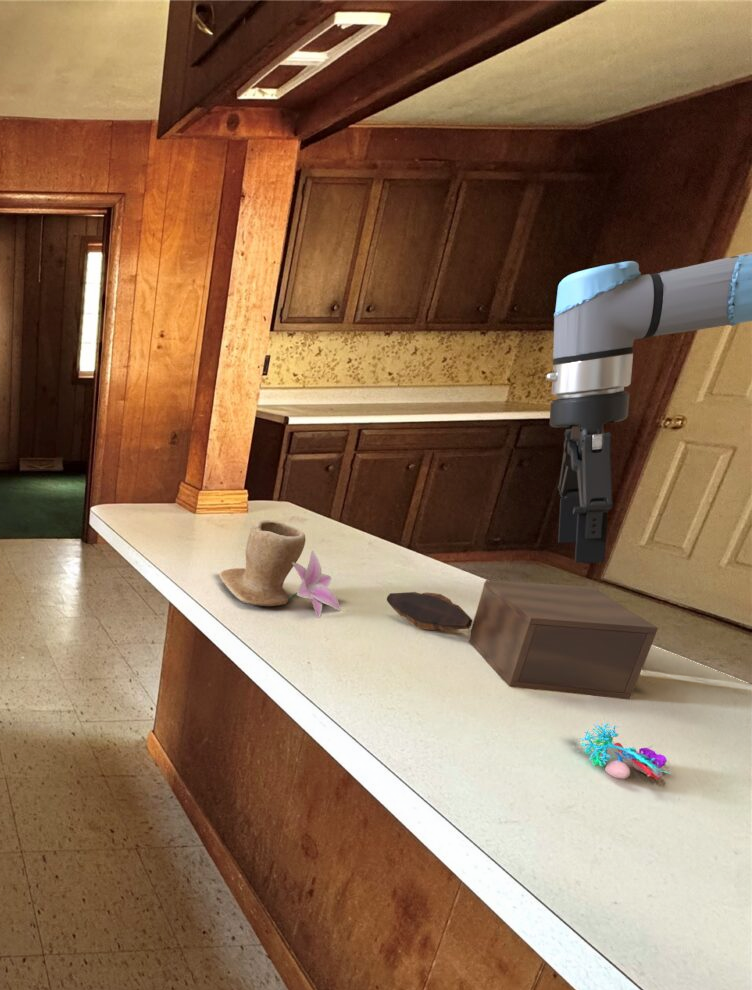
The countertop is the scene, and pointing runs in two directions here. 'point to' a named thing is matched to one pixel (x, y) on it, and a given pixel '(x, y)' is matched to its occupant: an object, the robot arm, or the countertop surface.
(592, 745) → the anatomy model
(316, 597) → the lily
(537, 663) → the cabinet
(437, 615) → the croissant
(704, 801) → the countertop surface
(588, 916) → the countertop surface
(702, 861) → the countertop surface
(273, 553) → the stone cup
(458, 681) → the countertop surface
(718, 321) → the robot arm
